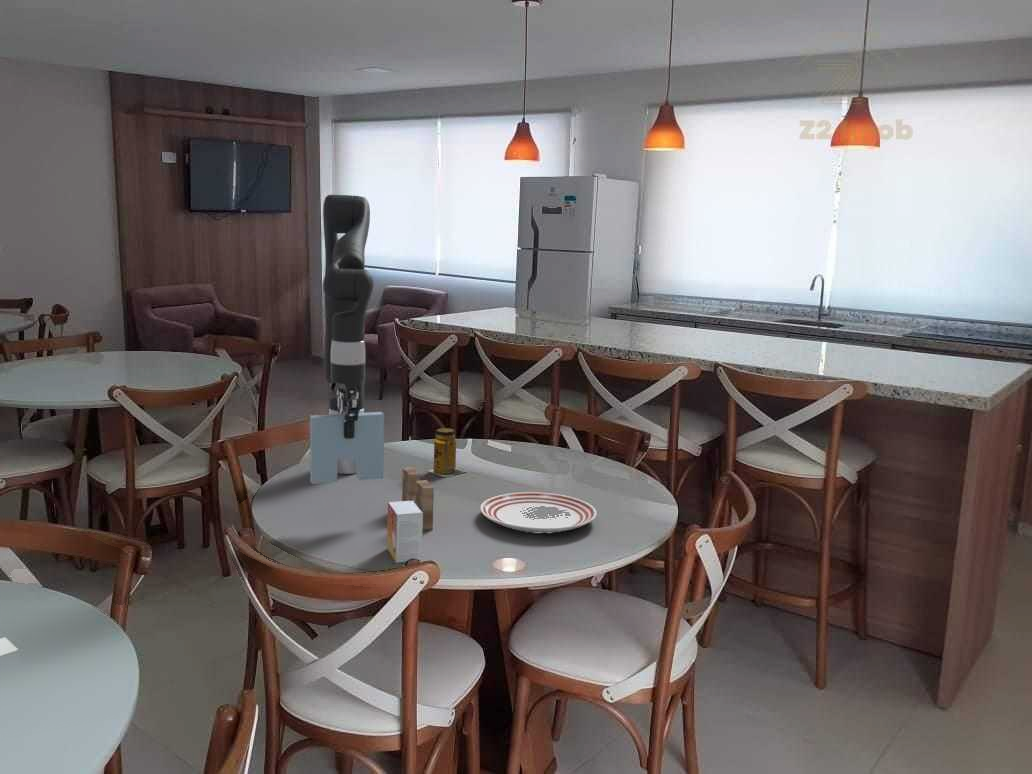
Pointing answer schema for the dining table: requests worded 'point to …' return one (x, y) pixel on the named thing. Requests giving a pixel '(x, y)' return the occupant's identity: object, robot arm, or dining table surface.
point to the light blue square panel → (346, 446)
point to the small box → (404, 531)
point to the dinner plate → (510, 505)
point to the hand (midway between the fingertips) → (347, 436)
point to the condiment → (445, 453)
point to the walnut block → (419, 495)
